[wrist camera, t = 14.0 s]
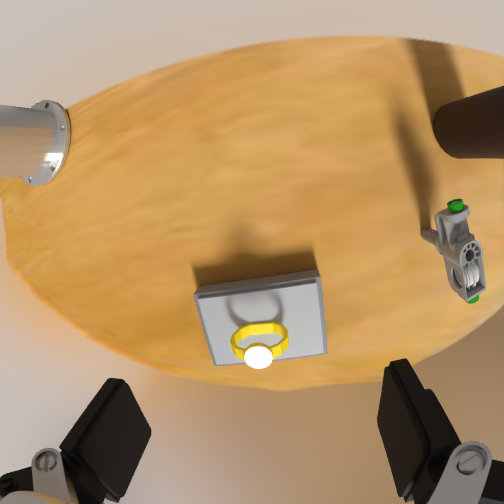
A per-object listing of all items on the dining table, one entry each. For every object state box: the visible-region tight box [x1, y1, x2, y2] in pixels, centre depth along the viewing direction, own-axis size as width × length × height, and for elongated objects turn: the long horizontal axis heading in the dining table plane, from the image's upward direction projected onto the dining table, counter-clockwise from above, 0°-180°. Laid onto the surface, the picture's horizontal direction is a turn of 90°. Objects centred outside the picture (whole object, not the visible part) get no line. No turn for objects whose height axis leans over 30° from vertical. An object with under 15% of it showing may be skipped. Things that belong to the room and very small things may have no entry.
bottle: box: [434, 86, 504, 159], centre depth 17 cm, size 7×7×20 cm
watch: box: [230, 321, 289, 369], centre depth 29 cm, size 6×3×6 cm, turn 99°
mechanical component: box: [421, 199, 486, 303], centre depth 26 cm, size 3×10×10 cm, turn 26°
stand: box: [194, 269, 328, 366], centre depth 34 cm, size 14×10×3 cm
